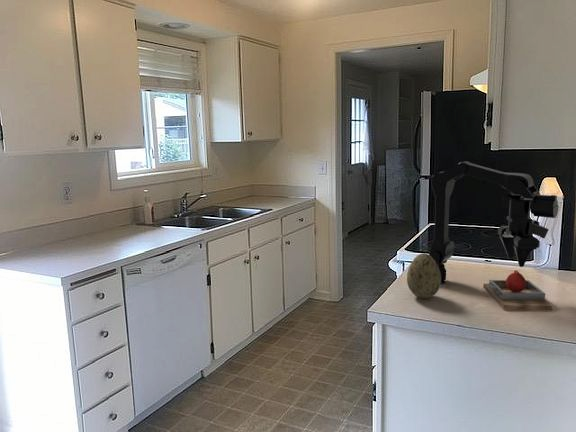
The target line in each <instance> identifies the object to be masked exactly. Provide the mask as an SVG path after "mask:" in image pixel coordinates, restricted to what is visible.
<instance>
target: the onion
mask: <svg viewBox="0 0 576 432" xmlns="http://www.w3.org/2000/svg"><path fill="white" fill-rule="evenodd" d="M505 280H506V285H507V288H508V289H509V290H510V291H512V292H521V291H522V290H524V288H525V287H526V281H525V280H526V279H525V277H524V276H523V274H522V273H520V271H519V270H513V272H512V273H510V274H509V275H508V276H507V277H506V279H505Z"/></svg>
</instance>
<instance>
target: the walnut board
mask: <svg viewBox="0 0 576 432" xmlns="http://www.w3.org/2000/svg"><path fill="white" fill-rule="evenodd" d="M482 288H483V290H485V291H486V292H487V294H489V295H490V297H491V298H492V299H493V300H494V302H496V303H497V305H498V306H499V307H501V309H502V310H504V311H553V305H552V304H551V303H550V302H549V301H547V299H545V301H502V300H501V299H500V298H499V297H498V296H497V295H496V294H495V293H494V292H493V291H492V290H491V289H490V288H489V283H483V287H482ZM500 289H501V290H502V291H504V292H512V291H510V290H509V289H508V288H500ZM521 292H531V291H529V290H528V289H527V288H524V290H522V291H521Z"/></svg>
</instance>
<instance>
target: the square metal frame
mask: <svg viewBox="0 0 576 432" xmlns="http://www.w3.org/2000/svg"><path fill="white" fill-rule="evenodd" d="M525 281H526V287H525V288H527V289H528V290H529V291H531V292H504V291H502V290H501V289H500V288H507V285H506V279H491V280H490V279H489V283H488V284H489V288H490V289H491V290H492V291H493V292H494V293H495V294H496V295H497V296H498V297H499V298H500V299H501V300H502V301H545V300H546V292H544V291H543V290H542V289H540V288H539V287H538V286H536V285H535V283H533V282H532V281H530V279H529V280H528V279H525Z"/></svg>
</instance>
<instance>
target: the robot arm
mask: <svg viewBox="0 0 576 432" xmlns="http://www.w3.org/2000/svg"><path fill="white" fill-rule="evenodd" d="M464 176H469V177H472V178H475V179H480V180H483V181H484V182H485V181H486V182H490V183H493V184H496V185H499V186H500V187H502V188H503V189H505V190H507V191H508V193H507V194H506V195H505V196H503V197H502V200H504V201H505V200H507V201H509V207H508V208H509V210H508V216H506V220H507V221H508V225H500V226H499V227H498V229H497V234H498V235H499V239H500V240H501V242H502V245H503V247H504V251H505V253H506V254H507V257H508V259H513V257H514V254H515V256H516V260H517V263H518V266H519V267H520V268H523V267H525V264H526V261H527V259H528V257H529V255H530V253H531V252H532V251H533V250H537V249H538V248H540V243H541V242H540V241H541V240H540V239H538V238H537V237H540V238H542V239H545V238H546V236H547V234H548V232H549V228H547V227H545V226H542V225H540V222H539V221H538V220H535V219H532V218H530V214H532V215H533V216H534V217H538V218H539V217H540V218H541V217H542V218H547V219H548V218H549V219H556V218H557V217H558V213H559V208H560V207H559V201H558V196H557V195H556V194H551V195H550V194H549V195H548V194H541V193H540V191H539V190H538V188H537V187H536V186H535V182H534V179H533V177H532V176H531V175H530V174H528V173H522V172H521V173H520V172H504V171H501V170H498V169H493V168H490V167H487V166H482V165H479V164H475V163H472V162H470V161H461V162H459V163H458V164H455V166H452V167H450V168H449V169H446V170H444V171H440V172H436V173H434V174H433V175H432V177H431V180H430V181H431V182H430V183H431V189H432V193H433V195H434V198H435V205H434V206H435V210H434V232H433V233H434V237H433V239H432V241H431V244H430V246H429V247H430V248H429V252H428V255H430V256H431V257H432V258H433V259H434V260H435V262H436V263H437V265H438V267H439V270H440V273H441V284H446V280H447V269H446V266H445V264H446V263H447V262H448V260H449V259H451V257H452V255H453V254H454V253H455V251H454V246H455V242H454V241H450V237H449V226H450V223H449V222H450V199H451V195H452V194H453V190H454V187H455V182H456V181H457V180H460V179H461V178H462V177H464ZM535 236H537V237H535Z"/></svg>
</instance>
